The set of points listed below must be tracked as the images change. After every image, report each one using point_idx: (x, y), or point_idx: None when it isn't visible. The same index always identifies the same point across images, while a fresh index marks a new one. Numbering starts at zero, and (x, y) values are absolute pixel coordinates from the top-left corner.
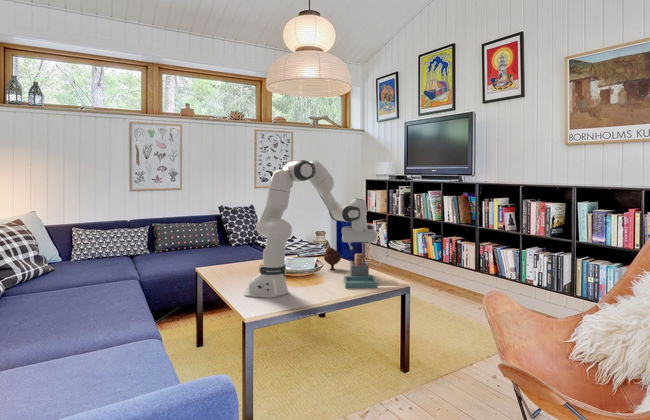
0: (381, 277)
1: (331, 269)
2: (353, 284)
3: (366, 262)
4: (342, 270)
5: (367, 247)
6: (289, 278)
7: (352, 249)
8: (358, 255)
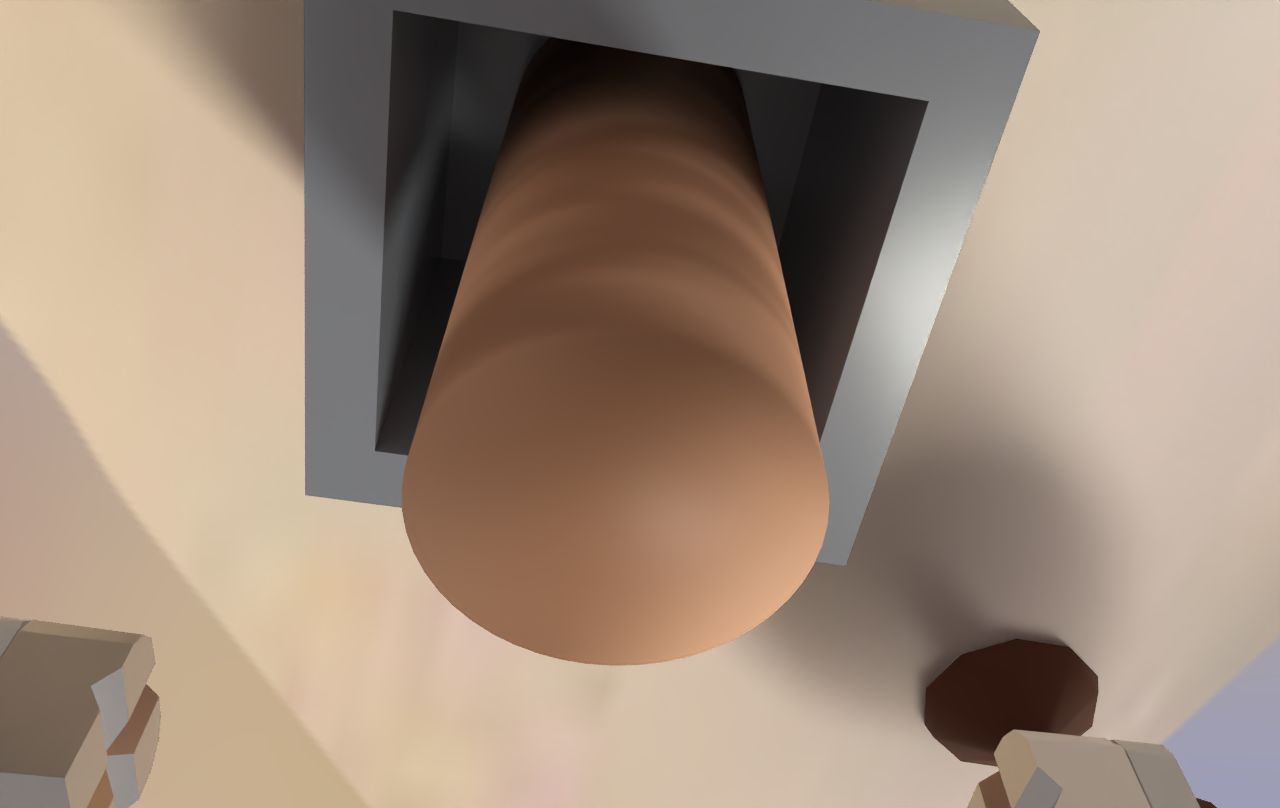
0: (10, 24)
1: (1056, 712)
2: None
3: (319, 403)
4: (801, 707)
5: (5, 709)
6: None
7: (1031, 736)
8: (706, 348)
